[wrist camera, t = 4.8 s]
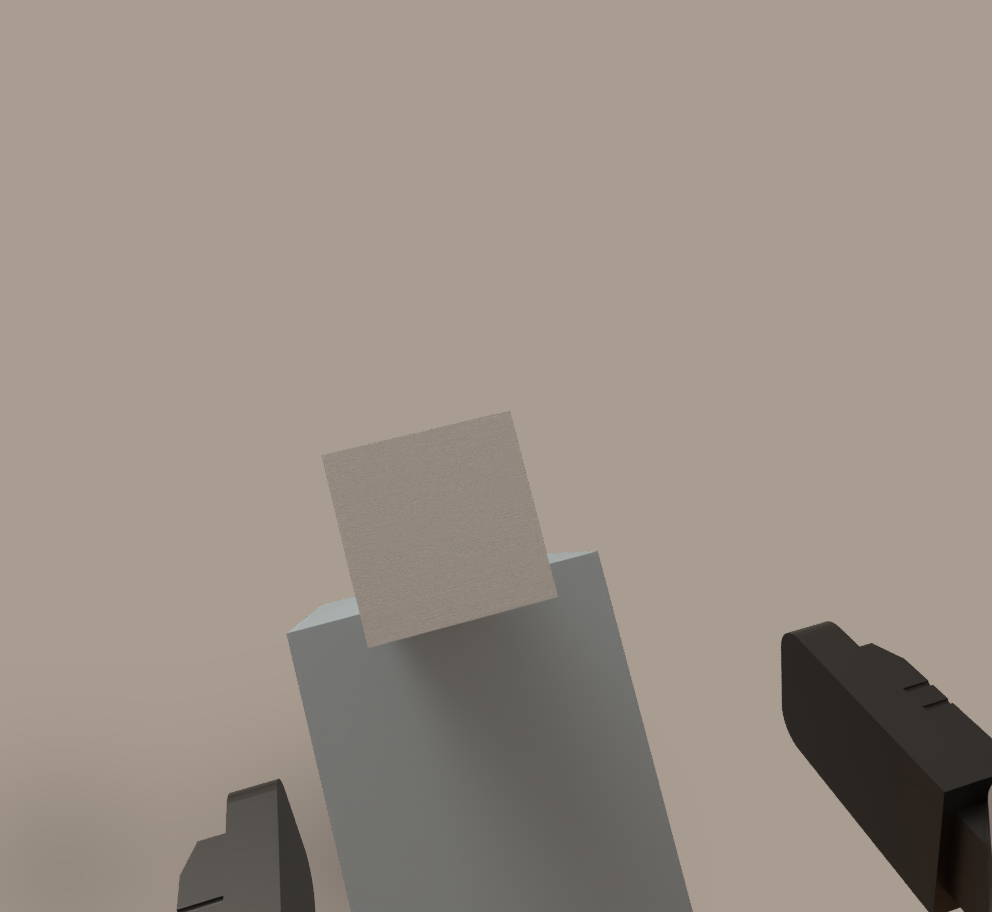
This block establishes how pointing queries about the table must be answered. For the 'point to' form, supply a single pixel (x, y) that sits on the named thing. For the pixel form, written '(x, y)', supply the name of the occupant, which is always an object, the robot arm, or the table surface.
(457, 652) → the stand
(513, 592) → the shaft
